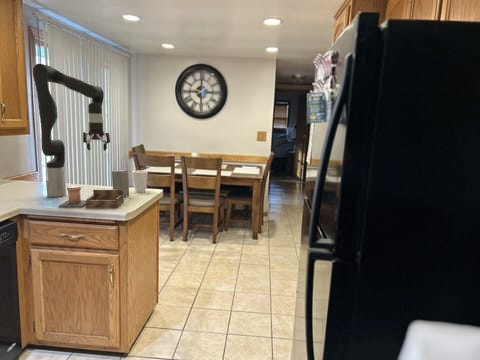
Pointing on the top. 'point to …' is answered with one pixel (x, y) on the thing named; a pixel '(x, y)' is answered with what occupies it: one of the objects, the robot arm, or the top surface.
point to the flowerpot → (74, 194)
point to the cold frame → (105, 199)
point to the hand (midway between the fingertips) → (97, 150)
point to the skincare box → (120, 181)
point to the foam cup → (140, 180)
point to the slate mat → (67, 205)
